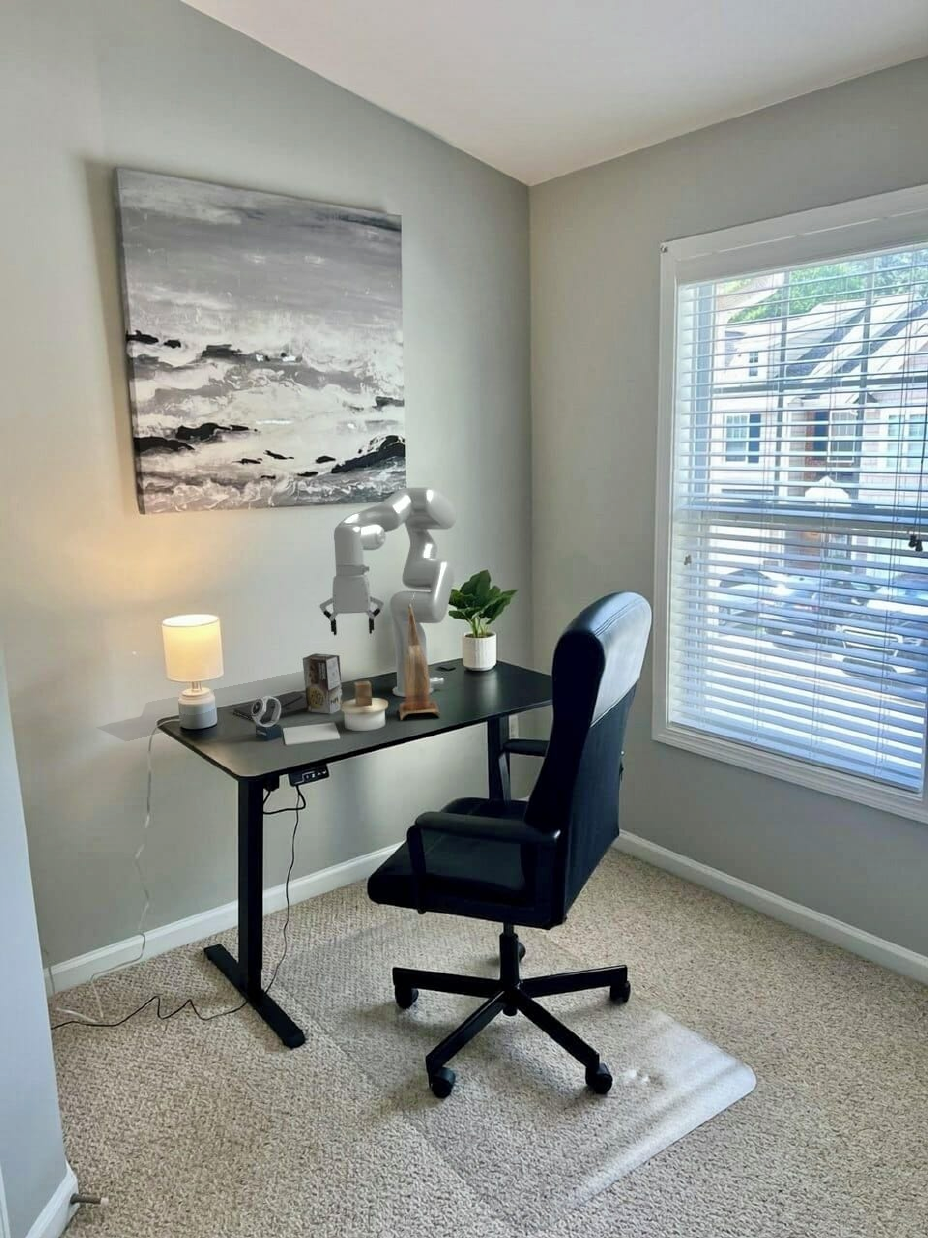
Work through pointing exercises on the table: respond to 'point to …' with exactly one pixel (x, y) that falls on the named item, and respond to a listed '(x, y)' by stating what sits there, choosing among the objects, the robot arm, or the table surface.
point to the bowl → (365, 721)
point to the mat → (310, 733)
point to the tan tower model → (416, 675)
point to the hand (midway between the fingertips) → (353, 633)
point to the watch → (270, 728)
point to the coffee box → (323, 683)
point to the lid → (363, 701)
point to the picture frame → (289, 706)
